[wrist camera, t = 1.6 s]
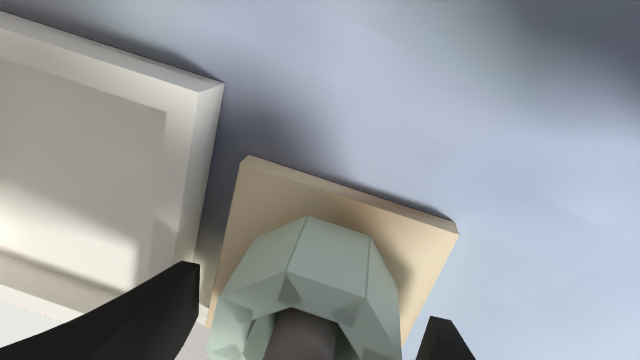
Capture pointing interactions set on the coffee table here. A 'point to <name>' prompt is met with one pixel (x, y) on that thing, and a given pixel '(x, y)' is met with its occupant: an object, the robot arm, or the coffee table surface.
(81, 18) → the coffee table surface
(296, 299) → the ring
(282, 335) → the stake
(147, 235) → the tray
